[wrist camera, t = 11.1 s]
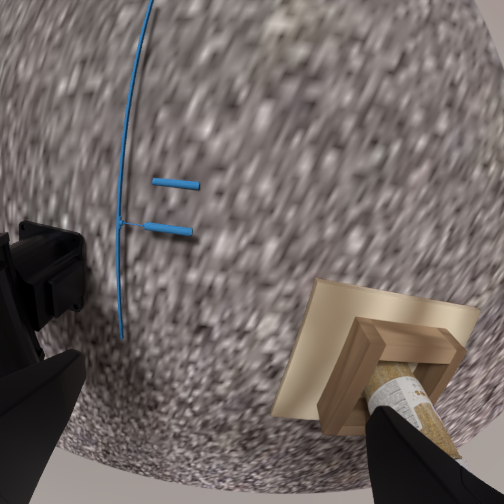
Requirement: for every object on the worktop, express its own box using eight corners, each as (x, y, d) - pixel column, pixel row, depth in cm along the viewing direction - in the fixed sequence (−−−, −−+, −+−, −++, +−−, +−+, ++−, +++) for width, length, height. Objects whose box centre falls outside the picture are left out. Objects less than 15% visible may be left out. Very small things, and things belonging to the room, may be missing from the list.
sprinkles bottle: (413, 367, 22) (482, 486, 9) (372, 398, 23) (419, 525, 10) (390, 338, 21) (469, 475, 9) (344, 374, 22) (392, 520, 10)
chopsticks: (226, -7, 14) (150, -4, 14) (184, 353, 21) (120, 339, 21) (229, 3, 15) (156, 4, 15) (188, 343, 23) (126, 330, 23)
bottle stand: (270, 409, 25) (272, 446, 20) (315, 277, 21) (328, 307, 17) (416, 414, 25) (430, 442, 21) (476, 307, 22) (503, 330, 17)
